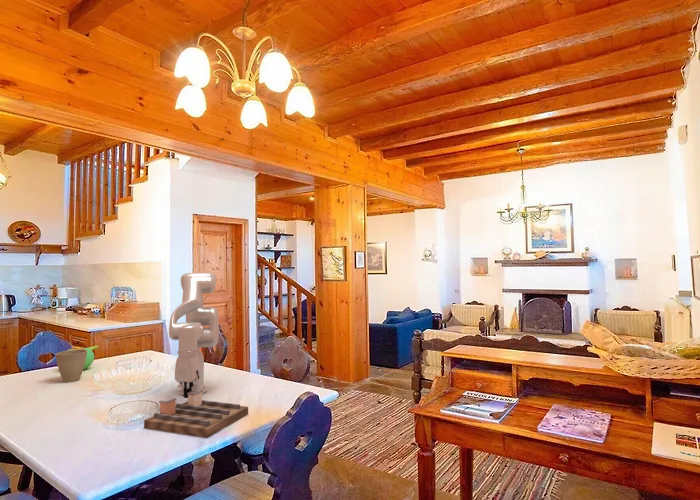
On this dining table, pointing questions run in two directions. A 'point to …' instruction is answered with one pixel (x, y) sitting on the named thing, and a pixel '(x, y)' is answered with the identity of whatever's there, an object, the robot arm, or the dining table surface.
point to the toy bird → (89, 354)
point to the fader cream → (195, 397)
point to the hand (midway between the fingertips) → (187, 397)
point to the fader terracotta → (167, 406)
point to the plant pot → (71, 364)
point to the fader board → (197, 418)
